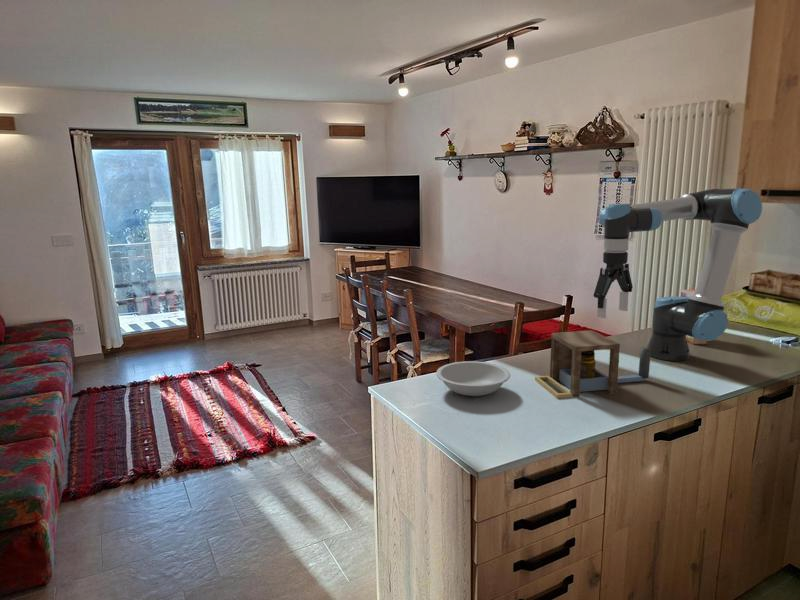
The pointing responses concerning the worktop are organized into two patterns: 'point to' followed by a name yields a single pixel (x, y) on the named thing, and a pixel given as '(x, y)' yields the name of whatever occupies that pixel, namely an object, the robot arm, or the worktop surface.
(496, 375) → the soup bowl
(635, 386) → the worktop surface
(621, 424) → the worktop surface
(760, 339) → the worktop surface
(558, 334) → the tunnel
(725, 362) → the worktop surface
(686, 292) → the cracker box
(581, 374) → the condiment
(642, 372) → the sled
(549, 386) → the beige rectangular tray
